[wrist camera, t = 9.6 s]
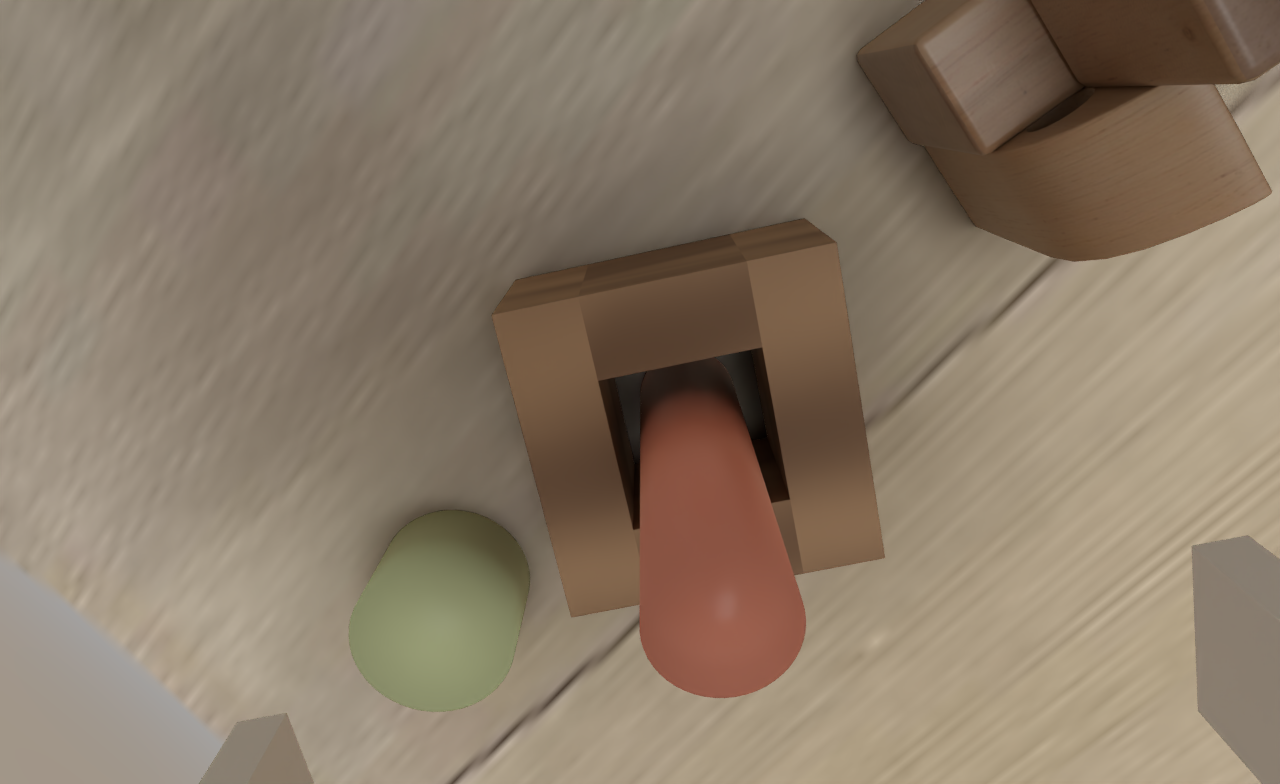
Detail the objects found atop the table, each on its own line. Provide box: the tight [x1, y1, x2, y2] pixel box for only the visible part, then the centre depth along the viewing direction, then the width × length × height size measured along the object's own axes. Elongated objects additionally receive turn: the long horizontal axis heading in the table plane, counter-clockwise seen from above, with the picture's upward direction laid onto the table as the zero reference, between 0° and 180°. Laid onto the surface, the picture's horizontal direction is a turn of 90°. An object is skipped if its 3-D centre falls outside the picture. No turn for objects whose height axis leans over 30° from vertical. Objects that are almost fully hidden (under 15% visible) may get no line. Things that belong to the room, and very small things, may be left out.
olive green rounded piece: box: [349, 510, 530, 712], centre depth 31 cm, size 5×5×4 cm
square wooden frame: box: [491, 218, 885, 617], centre depth 28 cm, size 9×9×5 cm
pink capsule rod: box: [640, 357, 806, 698], centre depth 24 cm, size 3×3×14 cm
